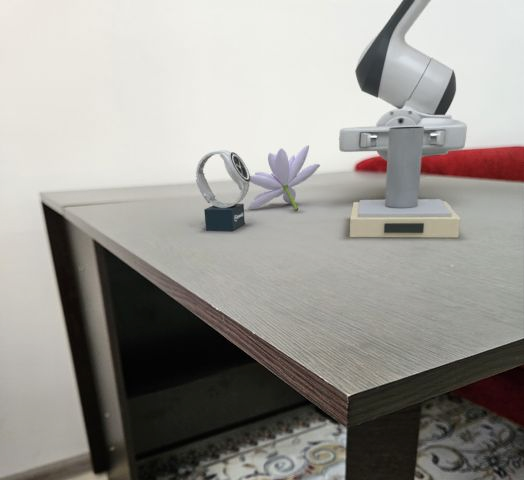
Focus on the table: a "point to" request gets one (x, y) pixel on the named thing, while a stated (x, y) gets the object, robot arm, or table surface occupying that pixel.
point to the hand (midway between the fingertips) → (403, 140)
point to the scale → (404, 220)
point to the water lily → (282, 177)
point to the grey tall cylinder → (403, 166)
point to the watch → (221, 213)
